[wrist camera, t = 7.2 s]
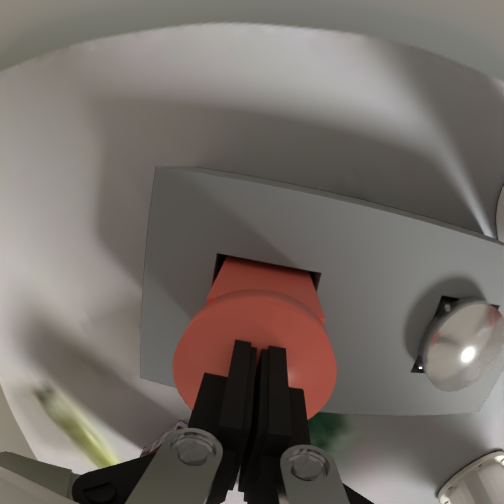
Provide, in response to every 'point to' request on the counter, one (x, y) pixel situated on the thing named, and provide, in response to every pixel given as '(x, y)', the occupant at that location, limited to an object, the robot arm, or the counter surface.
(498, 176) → the counter surface
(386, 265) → the button panel
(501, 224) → the fruit juice
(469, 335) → the steel button
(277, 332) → the red button
